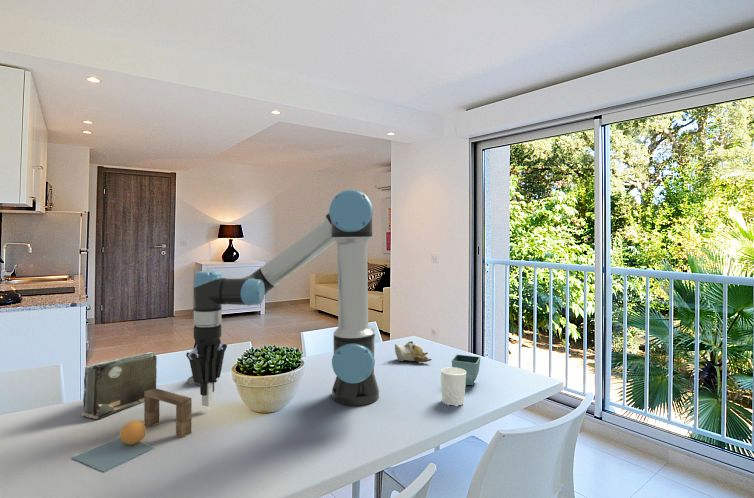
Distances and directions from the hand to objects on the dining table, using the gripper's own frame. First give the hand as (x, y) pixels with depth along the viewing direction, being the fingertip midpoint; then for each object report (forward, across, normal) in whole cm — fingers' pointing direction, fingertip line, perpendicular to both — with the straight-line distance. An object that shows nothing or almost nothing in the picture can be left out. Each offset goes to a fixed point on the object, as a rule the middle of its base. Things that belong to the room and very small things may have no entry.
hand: (207, 404), depth 124 cm
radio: (+2, +8, -26) cm, 28 cm away
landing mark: (+2, +27, 0) cm, 27 cm away
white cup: (+2, -42, +61) cm, 74 cm away
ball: (-1, +22, 0) cm, 22 cm away
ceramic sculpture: (+2, -77, +33) cm, 84 cm away
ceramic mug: (+2, -17, -21) cm, 27 cm away
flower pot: (+2, -61, +60) cm, 86 cm away
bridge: (+2, +13, 0) cm, 13 cm away
